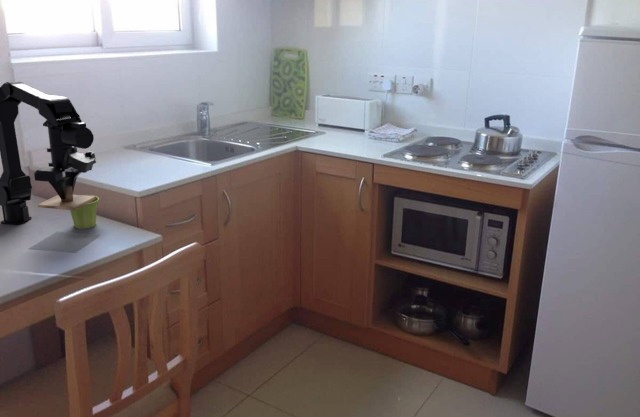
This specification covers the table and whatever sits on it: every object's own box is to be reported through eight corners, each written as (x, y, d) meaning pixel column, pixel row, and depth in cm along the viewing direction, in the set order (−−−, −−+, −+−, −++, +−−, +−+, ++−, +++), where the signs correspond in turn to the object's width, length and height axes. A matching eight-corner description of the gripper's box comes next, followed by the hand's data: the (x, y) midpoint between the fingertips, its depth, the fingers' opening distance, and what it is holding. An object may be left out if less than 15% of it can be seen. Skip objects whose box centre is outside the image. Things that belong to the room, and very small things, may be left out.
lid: (38, 207, 160) (35, 190, 159) (60, 196, 171) (59, 180, 169) (74, 210, 159) (72, 193, 157) (95, 199, 169) (94, 183, 168)
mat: (28, 250, 158) (27, 248, 158) (57, 232, 171) (57, 231, 171) (75, 254, 157) (75, 252, 156) (101, 236, 170) (101, 234, 170)
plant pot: (107, 222, 182) (104, 195, 179) (92, 232, 173) (90, 204, 170) (78, 220, 182) (75, 194, 180) (63, 230, 173) (59, 203, 171)
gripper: (68, 152, 150) (74, 209, 154) (105, 139, 167) (109, 190, 172) (29, 150, 151) (36, 206, 156) (69, 136, 169) (75, 187, 174)
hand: (66, 197), depth 164 cm, fingers closed on lid, 3 cm apart
